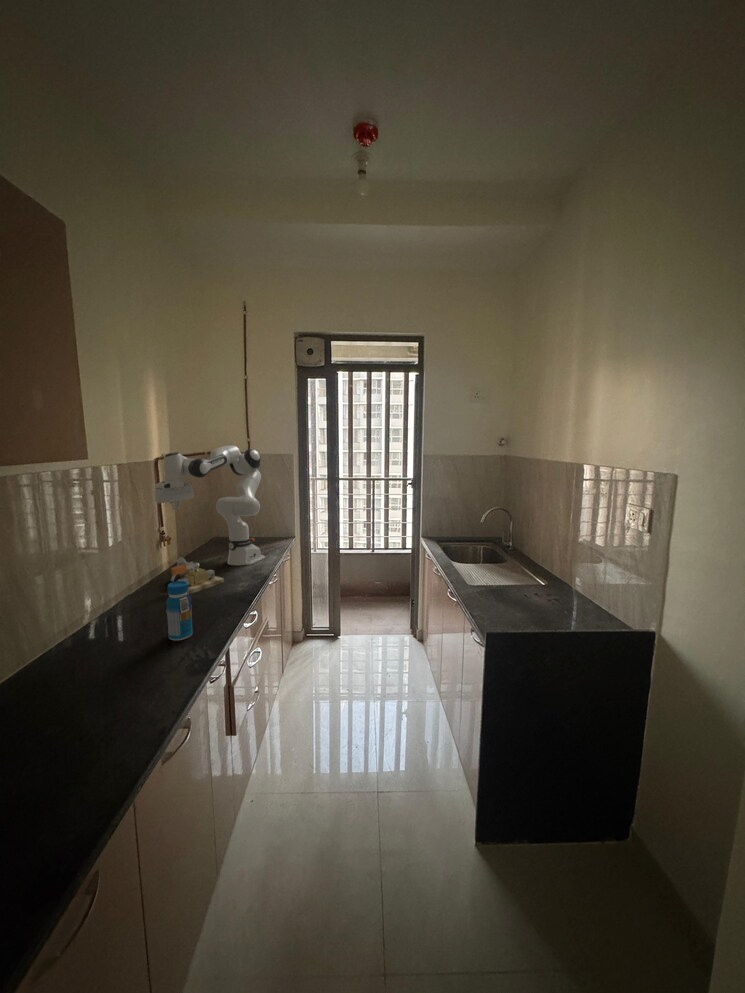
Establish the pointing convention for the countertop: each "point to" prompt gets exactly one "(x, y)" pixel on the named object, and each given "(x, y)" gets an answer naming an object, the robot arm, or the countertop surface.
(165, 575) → the countertop surface
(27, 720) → the countertop surface
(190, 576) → the pipe and valve body
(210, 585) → the valve board
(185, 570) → the valve lever
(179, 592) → the beverage bottle
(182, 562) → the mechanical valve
